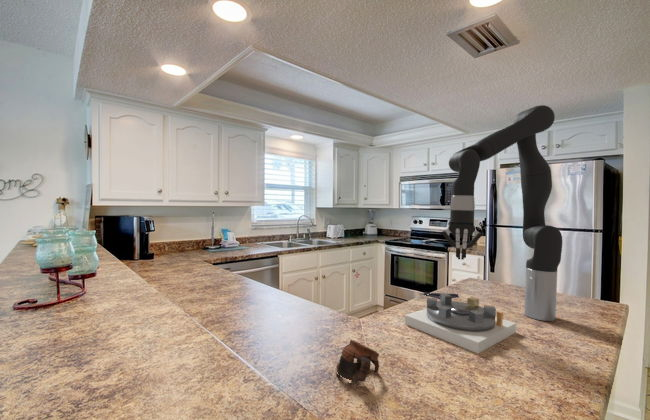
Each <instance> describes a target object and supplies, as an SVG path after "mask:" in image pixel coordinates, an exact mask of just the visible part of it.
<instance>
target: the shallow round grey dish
mask: <svg viewBox="0 0 650 420" xmlns="http://www.w3.org/2000/svg"><path fill="white" fill-rule="evenodd" d="M449 294H450V293H445V294H441V299H440V300H438V298H434V297H427V298H426V308H427V317H428V318H429V319H430V320H432V321H433V322H435V323H437V324H440V325H442V326H445V327H449V328H453V329H458V330H464V331H487V330H490V329H492V328H494V327H495V317H497V312H496V311H497V309H496V308H497V307H496V306H493V305H486V304H483V307H482V306H480V298H478V297H473V296H470V297H468V298H467V299H466V301H467V302H464V301H463V302H462V301H455V300H453V298H452V296H450V295H449Z"/></svg>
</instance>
